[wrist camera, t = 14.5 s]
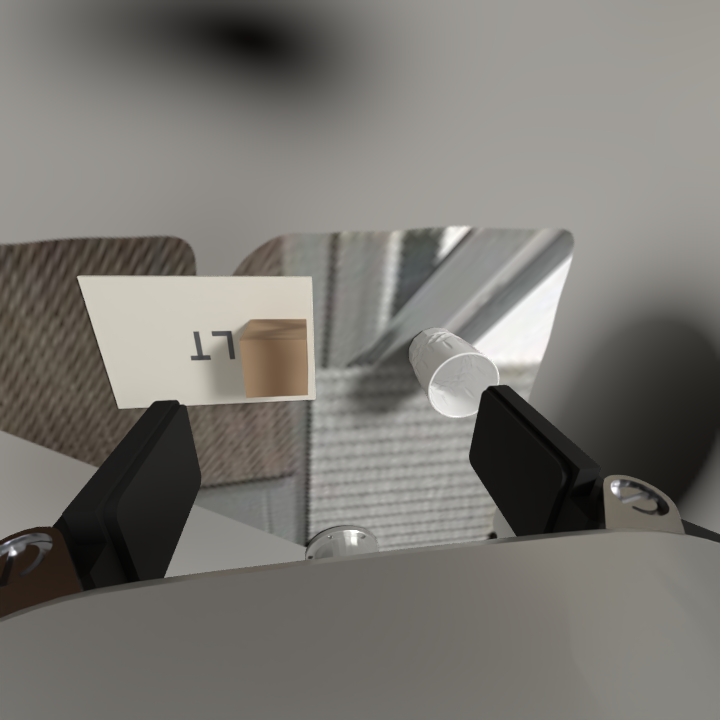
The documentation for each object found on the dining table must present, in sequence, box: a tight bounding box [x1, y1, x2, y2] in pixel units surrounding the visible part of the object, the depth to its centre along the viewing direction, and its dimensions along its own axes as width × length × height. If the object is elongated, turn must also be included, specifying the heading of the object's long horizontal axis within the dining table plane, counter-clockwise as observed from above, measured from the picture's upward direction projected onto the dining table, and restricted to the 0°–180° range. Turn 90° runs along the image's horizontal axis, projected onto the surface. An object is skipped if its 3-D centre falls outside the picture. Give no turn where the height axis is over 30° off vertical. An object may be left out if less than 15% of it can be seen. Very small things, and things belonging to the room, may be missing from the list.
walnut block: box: [239, 319, 308, 398], centre depth 37 cm, size 6×6×7 cm
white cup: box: [409, 327, 499, 418], centre depth 40 cm, size 8×8×10 cm
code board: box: [77, 276, 316, 409], centre depth 39 cm, size 24×16×1 cm, turn 88°
